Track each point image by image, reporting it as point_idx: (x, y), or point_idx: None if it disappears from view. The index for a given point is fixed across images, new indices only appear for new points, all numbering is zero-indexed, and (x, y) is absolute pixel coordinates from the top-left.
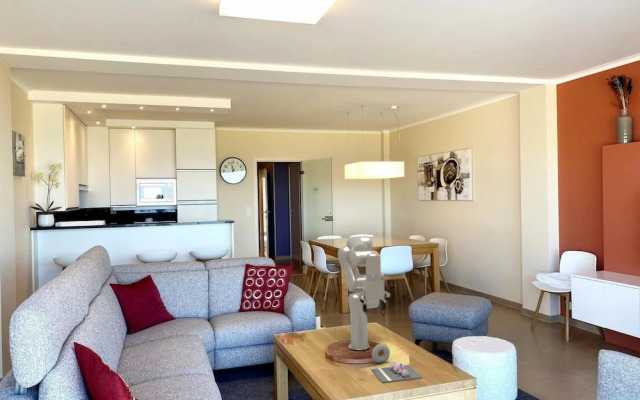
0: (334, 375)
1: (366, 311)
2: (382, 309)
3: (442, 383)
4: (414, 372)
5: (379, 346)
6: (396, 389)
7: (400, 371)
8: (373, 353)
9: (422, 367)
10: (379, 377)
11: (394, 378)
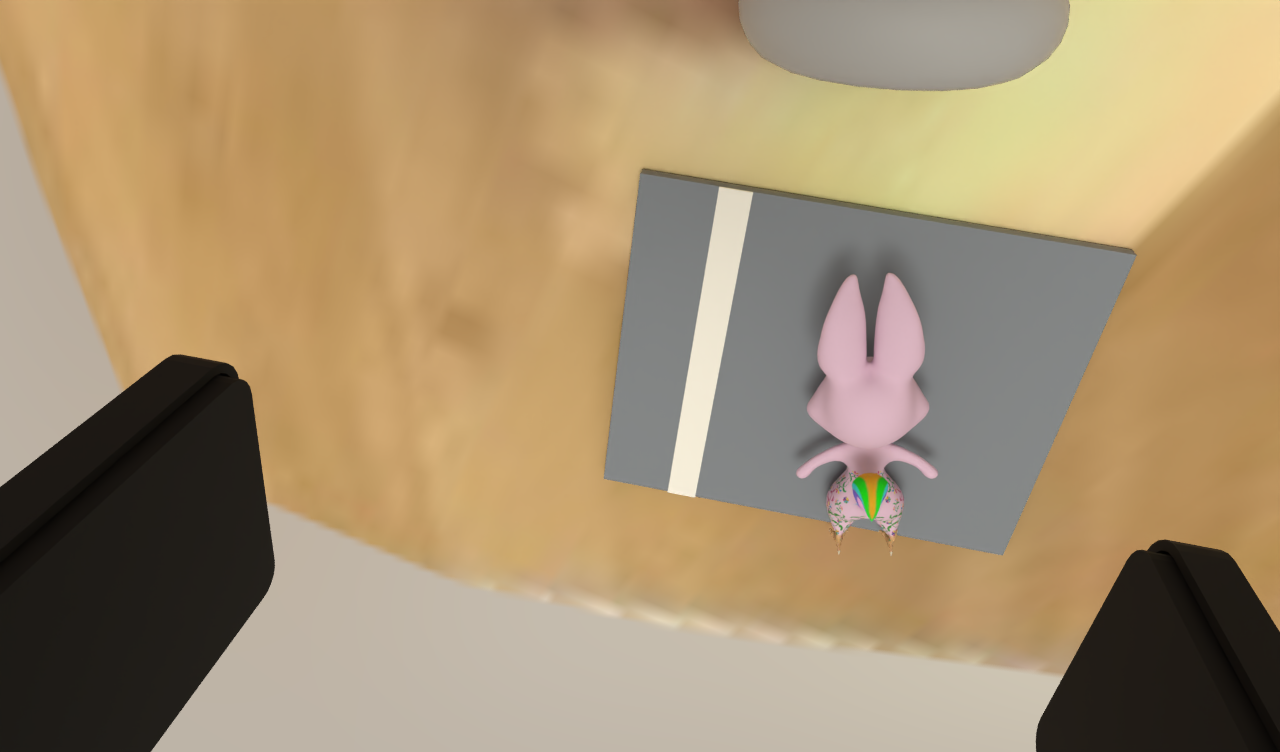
0: (213, 118)
1: (241, 608)
2: (1094, 638)
3: None
4: (1018, 449)
5: (855, 79)
6: (659, 598)
7: (845, 463)
8: (747, 38)
9: (1234, 353)
10: (623, 394)
11: (745, 470)
